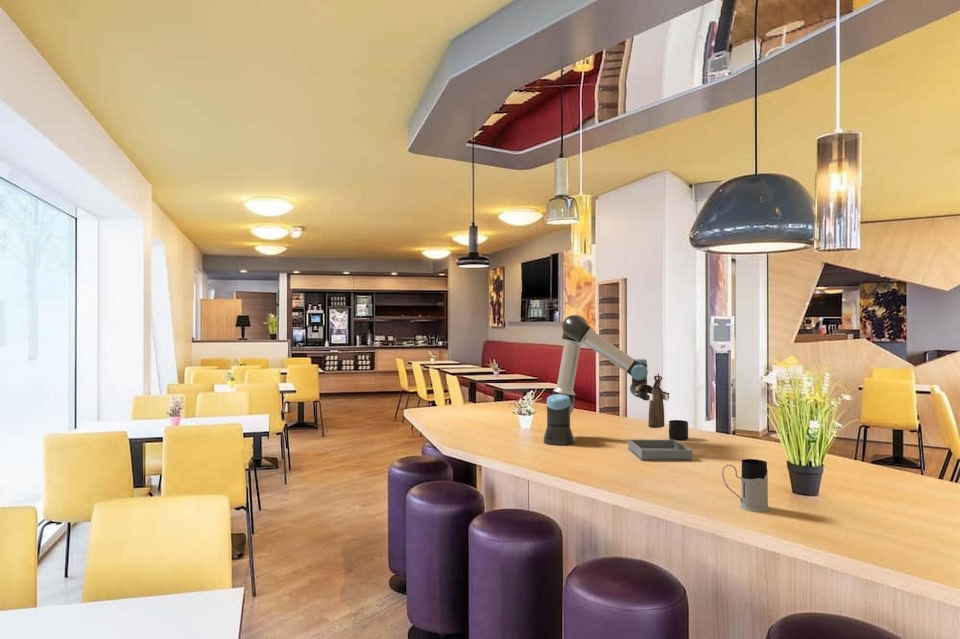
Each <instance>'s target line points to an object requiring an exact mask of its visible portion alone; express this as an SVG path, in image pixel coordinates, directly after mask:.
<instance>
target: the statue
mask: <svg viewBox="0 0 960 639" xmlns="http://www.w3.org/2000/svg"><path fill="white" fill-rule="evenodd" d="M653 380H654V383H653V386H652V387H653V388H652V392H651V394H652V395H653V401H651V400H649V405H648V406H649V407H648V428H651V429H660V428H663V427H664V428H665V405H664V399H663V397H662V391H663V389H662V388H661V386H662V385H661V381H662V380H663V377H662V376H661V375H660V373H659V372H658V373H657V375H654V376H653Z"/></svg>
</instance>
